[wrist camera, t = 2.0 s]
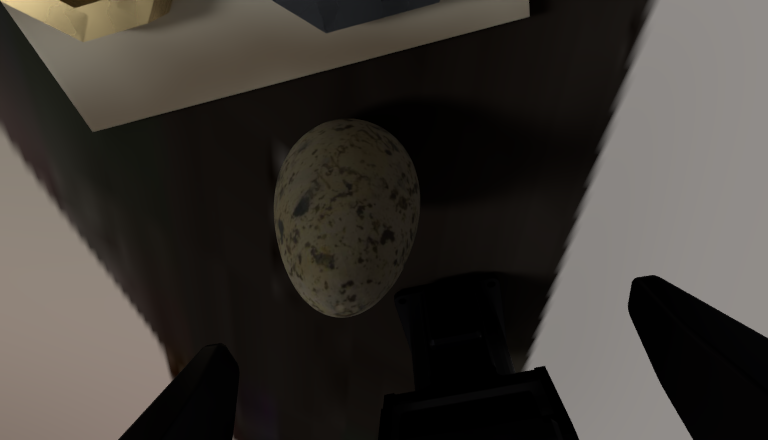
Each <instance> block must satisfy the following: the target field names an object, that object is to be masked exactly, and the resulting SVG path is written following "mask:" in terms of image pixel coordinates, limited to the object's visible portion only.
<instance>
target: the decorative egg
mask: <svg viewBox="0 0 768 440" xmlns="http://www.w3.org/2000/svg"><path fill="white" fill-rule="evenodd" d="M419 213H420V190H419V183H418V178H417V174H416V170H415V167H414V165H413V162H412V160H411V158H410V156H409V154H408V153H407V151H406V150H405V148H404V147H403V146H402V144H401V143H400V142H399V141H398V140H397V139H396V138H395V137H394V136H393V135H392V134H391V133H389V132H388V131H386V130H385V129H383V128H382V127H380V126H378V125H376V124H373V123H371V122H368V121H364V120H359V119H337V120H332V121H329V122H326V123H323V124H321V125H319V126H317V127H315V128H313V129H312V130H310V131H309V132H307V133H306V134H305V135H304V136H303V137H301V138H300V139H299V140H298V141H297V143H296V144H295V145H294V146H293V147H292V149H291V150H290V152H289V153H288V155H287V157H286V159H285V160H284V162H283V165H282V167H281V169H280V173H279V176H278V180H277V184H276V190H275V198H274V220H275V230H276V236H277V241H278V246H279V249H280V253H281V257H282V260H283V263H284V266H285V268H286V271H287V273H288V275H289V277H290V279H291V281H292V283H293V285H294V286H295V288H296V290H297V291H298V293H299V294H300V295H301V297H302V298H303V299H304V300H305V301H306V302H307V303H308V304H309V305H310V306H312V307H313V308H314V309H316V310H317V311H319V312H321V313H323V314H326V315H329V316H332V317H351V316H354V315H357V314H360V313H362V312H364V311H366V310H368V309H369V308H371V307H372V306H374V305H375V304H376V303H377V302H378V301H379V300H381V299H382V298H383V297H384V295H385V294H386V293H387V292H388V291H389V290H390V288H391V287H392V286H393V285H394V283H395V282H396V280H397V278H398V277H399V275H400V273H401V272H402V270H403V268H404V265H405V263H406V261H407V258H408V256H409V253H410V250H411V248H412V245H413V242H414V238H415V235H416V231H417V226H418V221H419Z"/></svg>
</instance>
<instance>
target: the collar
mask: <svg viewBox="0 0 768 440" xmlns="http://www.w3.org/2000/svg"><path fill="white" fill-rule="evenodd" d="M272 1H273V2H275V3H277V4H278V5H280V6H282V7H283V8H285V9H287V10H288V11H290V12H292V13H293V14H295V15H297V16H298V17H300V18H302V19H303V20H305V21H306V22H308V23H310V24H311V25H313V26H315V27H316V28H318V29H320V30H321V31H323V32H325V33H326V34H327V33H330V32H333V31H337V30H341V29H344V28H348V27H352V26H355V25H359V24H363V23H366V22H370V21H373V20H377V19H381V18H384V17H388V16H392V15H395V14H399V13H403V12H406V11H410V10H413V9H417V8H421V7H424V6H428V5H432V4H435V3H439V2H440V0H272Z"/></svg>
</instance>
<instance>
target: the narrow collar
mask: <svg viewBox="0 0 768 440" xmlns="http://www.w3.org/2000/svg"><path fill="white" fill-rule="evenodd" d="M172 1H173V0H1V2H3V3H5V4H7V5H9V6H11V7H13V8H15V9H17V10H19V11H21V12H23V13H25V14H27V15H29V16H31V17H33V18H35V19H37V20H39V21H41V22H44V23H46V24H48V25H50V26H52V27H54V28H56V29H58V30H60V31H62V32H64V33H66V34H68V35H70V36H72V37H74V38H76V39H78V40H80V41H82V42H86V41H89V40H93V39H96V38H100V37H103V36H106V35H110V34H113V33H117V32H120V31H123V30H127V29H130V28H134V27H137V26H140V25H144V24H147V23H150V22H152V21H154V20H156V19H158V18H160V17H162V16H164V15H166V14H168V13H169V11H170V8H171V4H172Z"/></svg>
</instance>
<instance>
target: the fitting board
mask: <svg viewBox="0 0 768 440" xmlns="http://www.w3.org/2000/svg"><path fill="white" fill-rule="evenodd" d="M0 1H1V0H0ZM2 4H3V5H4V6H5V8H6V9H7V11H8V12H9V14H10V15H11V16H12V18H13V19H14V21H15V22H16V23H17V25H18V26H19V28H20V29H21V31H22V32H23V33H24V35H25V36H26V38H27V39H28V40H29V42H30V43H31V45H32V46H33V48H34V49H35V50H36V52H37V53H38V55H39V56H40V58H41V59H42V60H43V62H44V63H45V65H46V66H47V67H48V69H49V70H50V72H51V73H52V75H53V76H54V77H55V79H56V80H57V82H58V83H59V85H60V86H61V87H62V89H63V90H64V92H65V93H66V94H67V96H68V97H69V99H70V100H71V102H72V103H73V104H74V106H75V107H76V109H77V110H78V111H79V113H80V114H81V116H82V117H83V119H84V120H85V121H86V123H87V124H88V126H89V127H90V129H91V130H92V131H93V132H94V131H98V130H102V129H106V128H110V127H113V126H117V125H121V124H125V123H129V122H132V121H136V120H140V119H144V118H147V117H151V116H155V115H159V114H163V113H166V112H170V111H174V110H178V109H182V108H185V107H189V106H193V105H197V104H200V103H204V102H208V101H212V100H216V99H219V98H223V97H227V96H231V95H235V94H238V93H242V92H246V91H250V90H253V89H257V88H261V87H265V86H269V85H272V84H276V83H280V82H284V81H288V80H291V79H295V78H299V77H303V76H306V75H310V74H314V73H318V72H322V71H325V70H329V69H333V68H337V67H341V66H344V65H348V64H352V63H356V62H359V61H363V60H367V59H371V58H375V57H378V56H382V55H386V54H390V53H394V52H397V51H401V50H405V49H409V48H412V47H416V46H420V45H424V44H428V43H431V42H435V41H439V40H443V39H447V38H450V37H454V36H458V35H462V34H466V33H469V32H473V31H477V30H481V29H484V28H488V27H492V26H496V25H500V24H503V23H507V22H511V21H515V20H519V19H522V18H526V17H530V14H529V0H440V2H439V3H435V4H432V5H428V6H424V7H421V8H417V9H413V10H410V11H406V12H403V13H399V14H395V15H392V16H388V17H384V18H381V19H377V20H373V21H370V22H366V23H363V24H359V25H355V26H352V27H348V28H344V29H341V30H337V31H333V32H330V33H327V34H326V33H325V32H323V31H321V30H320V29H318V28H316V27H315V26H313V25H311V24H310V23H308V22H306V21H305V20H303V19H302V18H300V17H298V16H297V15H295V14H293V13H292V12H290V11H288V10H287V9H285V8H283V7H282V6H280V5H278V4H277V3H275V2H273V1H272V0H173V1H172V4H171V8H170V11H169V13H168V14H166V15H164V16H162V17H160V18H158V19H156V20H154V21H152V22H150V23H147V24H144V25H140V26H137V27H134V28H130V29H127V30H123V31H120V32H117V33H113V34H110V35H106V36H103V37H100V38H96V39H93V40H89V41H86V42H82V41H80V40H78V39H76V38H74V37H72V36H70V35H68V34H66V33H64V32H62V31H60V30H58V29H56V28H54V27H52V26H50V25H48V24H46V23H44V22H41V21H39V20H37V19H35V18H33V17H31V16H29V15H27V14H25V13H23V12H21V11H19V10H17V9H15V8H13V7H11V6H9V5H7V4H5V3H3V2H2Z"/></svg>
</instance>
